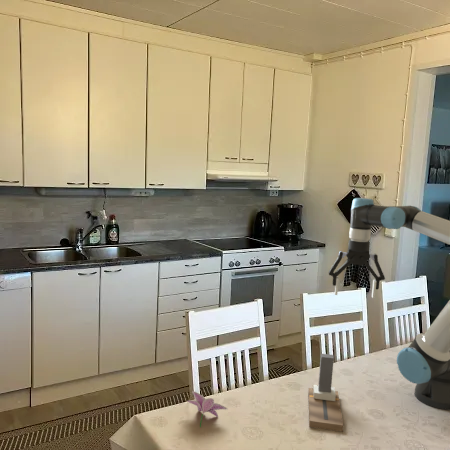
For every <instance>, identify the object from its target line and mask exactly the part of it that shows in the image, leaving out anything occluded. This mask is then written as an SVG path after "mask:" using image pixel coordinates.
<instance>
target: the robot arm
mask: <svg viewBox="0 0 450 450" xmlns="http://www.w3.org/2000/svg"><path fill="white" fill-rule="evenodd" d="M372 227H379V228H384V229H388V230H391V229H392V230H398V229H399V230H400V229H401V228H402V227H403V228H406V229H409V230H412V231H414V232H416V233H419V234H422V235H425V236H427V237H429V238H432V239H434V240H437V241H439V242H442V243H444V244H447V245H450V220H449V219H446V218H443V217H439V216H437V215H434V214H432V213H428V212H425V211H423V210H421V209H420V208H419V207H417V206H414V205H399V206H398V205H392V206H391V205H389V206H387V205H377V204H375V203H374V199H372V198H368V197H367V198H365V197H355V198H353V200H352V203H351V208H350V226H349V234H348V235H349V236H348V237H349V240H348V245H347V246H348V247H347V251H346V252H345V251H343V250H339V252H338V256H337V258H336V259H335V260H334V263H333V264H332V265H331V267H330V269H329V270H328V275H329V276H331V277H332V286H334V295H335V296H338V292H339V291H338V289H339V288H338V287H339V280H340V279H339V275H340V274H341V273H342V272H344V271H345V269H346V268H347V267H349V266H350V265H353V266H357V265H358V266H365V267H366V268H367V270H368V271H369V273H370V274H371V275H372V276H373V278H374V279H373V280H372V290H371V298H372V299H376V290H379V288H380V281H384V280H386V278H385V274H384V272H383V270H382V268H381V265H380V262H379V259H378V256H379V255H378V254H377V253H372V254H370V246H371V242H370V240H371V236H372V235H371V233H372ZM345 257H347V260H345V262H344V263H343V264H342V265H340V266H339V268H338V269H337V267H338V265H339V264H340V263H341V261H342V259H343V258H345ZM370 258H371V260H372V261H373V263H374V265H375V267H376V270H377V271H378V274H379V276H378V274H377V273H375V271H374V269H373V268H372V267H371V265H370V264H369V263H368V260H369V259H370ZM336 269H337V270H336ZM335 270H336V271H335ZM396 364H397V368H398V371H399V372H400V374H401V375H402V376H403V378H404V379H405V380H407V381H409V382H410V383H412V384H415V387H414V396H415V398H416V399H417V400H418V401H419V402H421V403H423V404H425V405H427V406H430V407H432V408H436V409H441V410H450V299H449V300H448V301H447V303H446V304H445V306H444V307H443V308H442V309H441V311H440V312H439V314H438V315H437V317H436V318H435V319H434V320H433V321H432V323H431V325H430V326H429V327H428V329H427V330H426V331H425V333H424V332H422V333H418V334H417V335H416V336H415V338H414V339H413V340H412V341H411V343H410V344H409V345H408V346H407V347H404V348H402V349H401V350H399V352H398V353H397V356H396Z"/></svg>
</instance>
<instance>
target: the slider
mask: <svg viewBox="0 0 450 450" xmlns="http://www.w3.org/2000/svg"><path fill="white" fill-rule="evenodd" d="M333 369H334V354H329V353H320V362H319V373H318V385H317V384H313V395H314V399H322V400H329V401H335V397H336V394H335V391H336V390H335V388H336V387H335V386H332V385H333V384H332V383H333V382H332V381H333V373H334V371H333Z"/></svg>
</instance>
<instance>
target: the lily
mask: <svg viewBox="0 0 450 450" xmlns="http://www.w3.org/2000/svg"><path fill="white" fill-rule="evenodd" d="M191 392H192V395H193V397H194V399H195V400H192V399H191V400H190V399H189V400H187V401H186V402H187V403H189V404H192V405H194V406H196V408H197V412H199V413H200V412H202V413H201V417H200V422H199V428H201V427H202V419H203V417H204V414H205V413H207V412H208V413H210V414H212V415H213V416H215V417H217V418H218V417H219V415H218V414H219V413H218V412H217V410H228V408H227V407H226V406H224V405H222V404H220V403H217V402H216V403H215V399H214V398H212V397H211V398H205V397H204V395H202V394H201V393H198V392H197V391H195V390H192V391H191Z"/></svg>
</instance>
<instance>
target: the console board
mask: <svg viewBox="0 0 450 450" xmlns="http://www.w3.org/2000/svg"><path fill="white" fill-rule="evenodd" d="M307 393H308V396H307V397H308V399H307V400H308V402H307V403H308V427H309V428H313V429H314V428H315V429H320V430H328V431H335V432H343V431H344V420H343V415H342V409H341V403H340V402H341V401H340V397H339V391H337V390H335V394H336V397H335V401H329V400H322V399H314V395H313V388H312V387H308V391H307Z"/></svg>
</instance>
